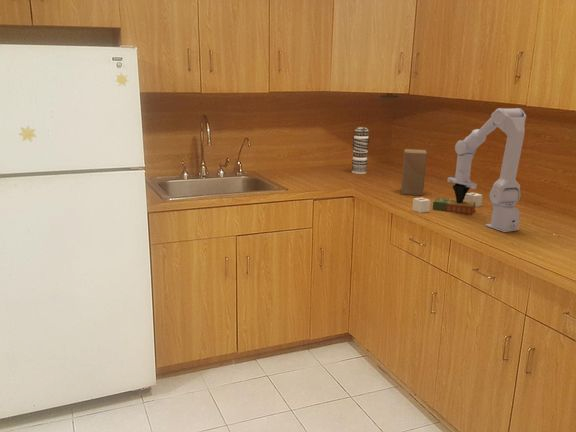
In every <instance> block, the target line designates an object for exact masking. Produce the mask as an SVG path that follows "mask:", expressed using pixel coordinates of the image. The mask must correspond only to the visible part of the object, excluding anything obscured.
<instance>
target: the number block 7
mask: <svg viewBox="0 0 576 432" xmlns="http://www.w3.org/2000/svg"><path fill="white" fill-rule="evenodd" d="M483 196H484V195H483V194H480V193H477V192H469V193H468V192H467V193H466V195H465V197H464V200H465V201H474V202H475V208H477V207H482V203H483Z"/></svg>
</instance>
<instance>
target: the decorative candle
mask: <svg viewBox="0 0 576 432" xmlns="http://www.w3.org/2000/svg"><path fill="white" fill-rule="evenodd" d="M369 143H370V138H369V129H368V128H367V126H365V127H364V126H357V127H355V129H354V135H353V137H352V146H353V147H352V152H353V155H352V161H351V162H352V163H351V164H352V165H351V174H352V173H353V174H356V175H357V174H359V175H360V174H361V175H364V174H366V173H368V172H367V171H368V169H367V168H368V166H367V165H368V157H367V156H368V152H369V151H368V150H369V145H368V144H369Z"/></svg>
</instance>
